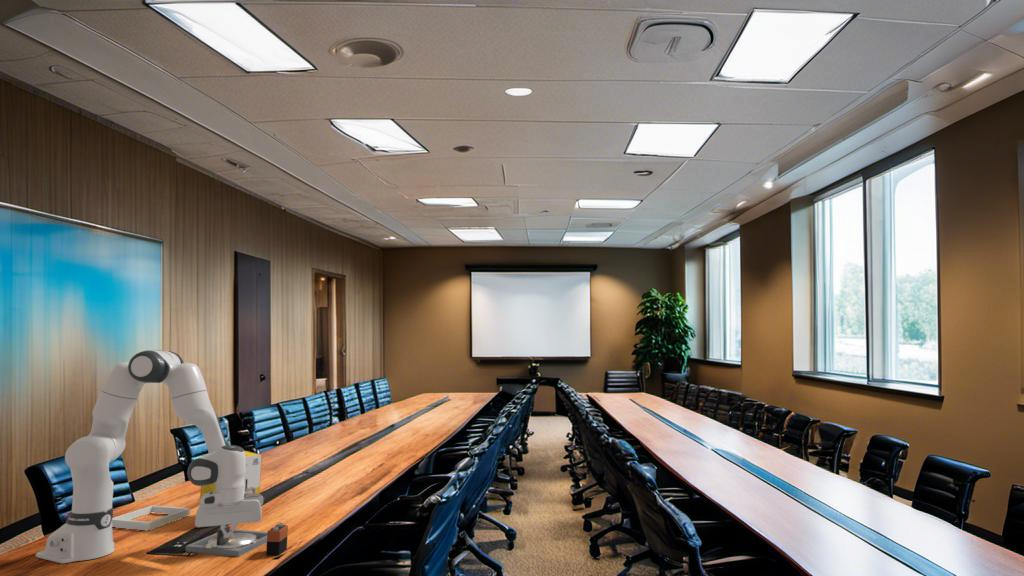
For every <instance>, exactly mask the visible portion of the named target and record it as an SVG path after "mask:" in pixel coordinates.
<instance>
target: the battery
mask: <svg viewBox="0 0 1024 576" xmlns="http://www.w3.org/2000/svg"><path fill="white" fill-rule="evenodd" d="M288 530H289V525H287V524H284V523H283V522H278V523H277V522H276V525H274V526H273V527H271V528H269V529H268V530H267V531H266V532H267V543H266V552H265V553H266V555H265V556H267V557H268V556H270V557H271V556H272V557H273V558H272V560H279V559H281V558H282V557H283V556H284V555H285V553H284V552H285V551H287V549H288V533H289V531H288Z"/></svg>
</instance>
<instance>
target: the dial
mask: <svg viewBox="0 0 1024 576" xmlns="http://www.w3.org/2000/svg"><path fill="white" fill-rule="evenodd" d="M230 529H231V526H230V525H226V527H225V530H226V532H230ZM216 531H217V532H216V533H217V536H216V537H213V538H211V539H210V540H209V541H208V544H209V543H210V544H214V545H213V547H219V548H229V549H240V548H242V547H244V546H246V545H248V544H250V543H251V542H252V541H256V540H257V538H256V535H254V534H251V533H233V537H232V538H226V539H224V534H223V532H222V530H221V527H219V529H217V530H216Z"/></svg>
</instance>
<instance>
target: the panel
mask: <svg viewBox="0 0 1024 576" xmlns="http://www.w3.org/2000/svg"><path fill="white" fill-rule="evenodd" d="M232 529H233V528H230V531H231V530H232ZM233 533H251V534H254V535H256V541H252V542H251V543H250V544H248V545H246V546H244V547H242V548H240V549H229V548H219V547H213V545H214V544H210V543H209V544H208V541H209V540H210V539H211V538H213V537H216V536H217V532H216V533H213V534H211V535H208V536H206V537H204V538H202V539H199V540H196V541H195V542H192V543H190V544H187V545H185V552H187V553H197V554H206V555H218V556H225V557H228V556H229V557H237V558H239V557H241V556H243V555H246V554H248V553H249V552H251V551H253V550H255V549H257V548H259V547H261V546H263V545H265V544H267V531H257V530H246V529H237V528H236V529H235V530H234V532H233Z"/></svg>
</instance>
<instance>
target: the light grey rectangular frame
mask: <svg viewBox="0 0 1024 576" xmlns="http://www.w3.org/2000/svg"><path fill="white" fill-rule="evenodd" d="M190 511H191V508H188V507H177V506H165V505H163V506H162V505H150V506H146V507H143V508H140V509H136V510H134V511H130V512H127V513H124V514H121V515H118V516H113V518H112V521H111V522H112V527H116V528H115V529H118V528H126V529H125V530H129V529H138V530H137V531H139V530H150V531H152V530H151V529H153V528H156V527H158V526H161V525H163V524H167V523H169V522H172V521H175V520H178V519H180V518H183V517H185V516H187V515H189V516H190V514H191V512H190ZM151 512H155V513H166V514H170V515H164V516H162V517H160V518H159V517H158V518H156V519H152V520H150V521H141V520H131V519H133V518H136V517H139V516H142V515H145V514H148V513H151ZM183 519H184V518H183ZM180 520H181V519H180ZM178 521H179V520H178ZM175 522H176V521H175ZM172 523H173V522H172ZM169 524H170V523H169ZM167 525H168V524H167ZM161 527H162V526H161ZM158 528H159V527H158ZM156 529H157V528H156ZM153 530H154V529H153Z"/></svg>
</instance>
